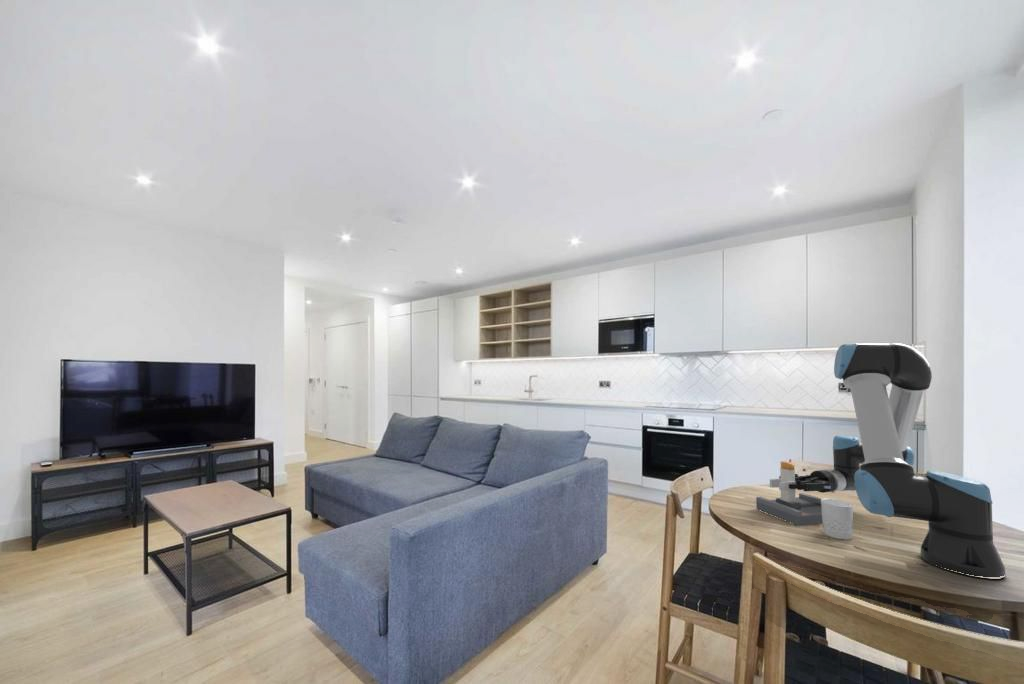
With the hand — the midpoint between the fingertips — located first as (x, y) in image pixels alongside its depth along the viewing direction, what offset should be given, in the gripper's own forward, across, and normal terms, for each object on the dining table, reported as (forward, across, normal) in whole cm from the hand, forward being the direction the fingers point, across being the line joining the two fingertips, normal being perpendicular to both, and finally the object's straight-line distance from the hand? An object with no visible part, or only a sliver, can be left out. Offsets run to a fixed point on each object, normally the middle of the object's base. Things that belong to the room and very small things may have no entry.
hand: (775, 484), depth 144 cm
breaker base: (-11, 0, -11) cm, 16 cm away
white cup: (-5, -17, -11) cm, 21 cm away
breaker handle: (-5, 0, -8) cm, 9 cm away
